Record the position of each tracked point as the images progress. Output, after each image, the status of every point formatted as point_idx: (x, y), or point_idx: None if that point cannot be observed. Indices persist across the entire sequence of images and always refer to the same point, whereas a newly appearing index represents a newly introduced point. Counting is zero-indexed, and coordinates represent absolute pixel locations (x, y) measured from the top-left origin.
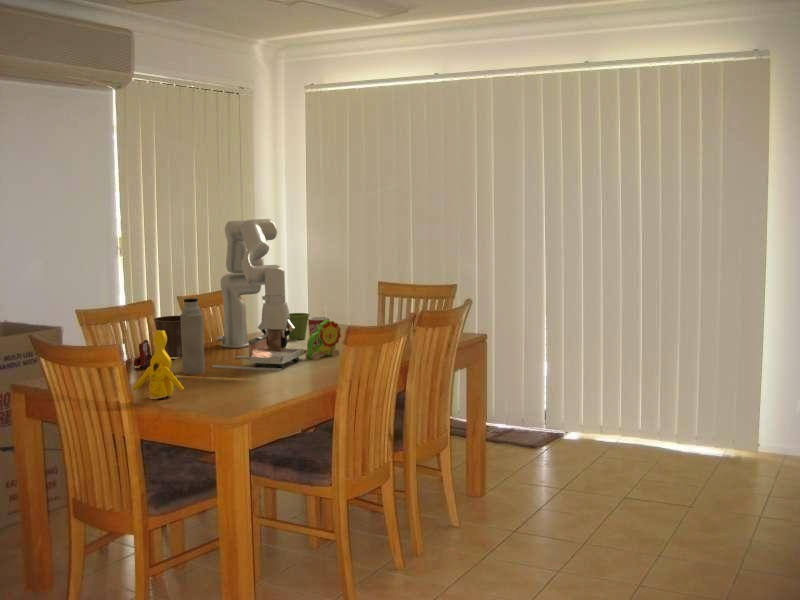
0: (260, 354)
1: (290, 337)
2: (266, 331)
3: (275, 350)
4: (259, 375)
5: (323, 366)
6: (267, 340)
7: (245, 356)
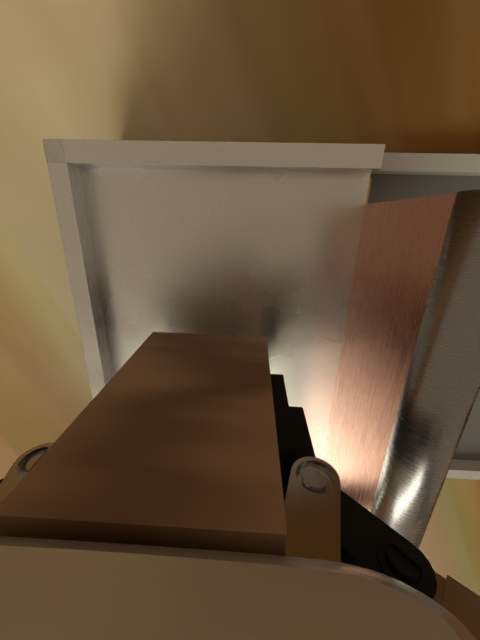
0: (342, 354)
1: None
2: (328, 542)
3: (195, 336)
4: (224, 27)
5: (9, 382)
6: (288, 415)
7: (469, 476)
